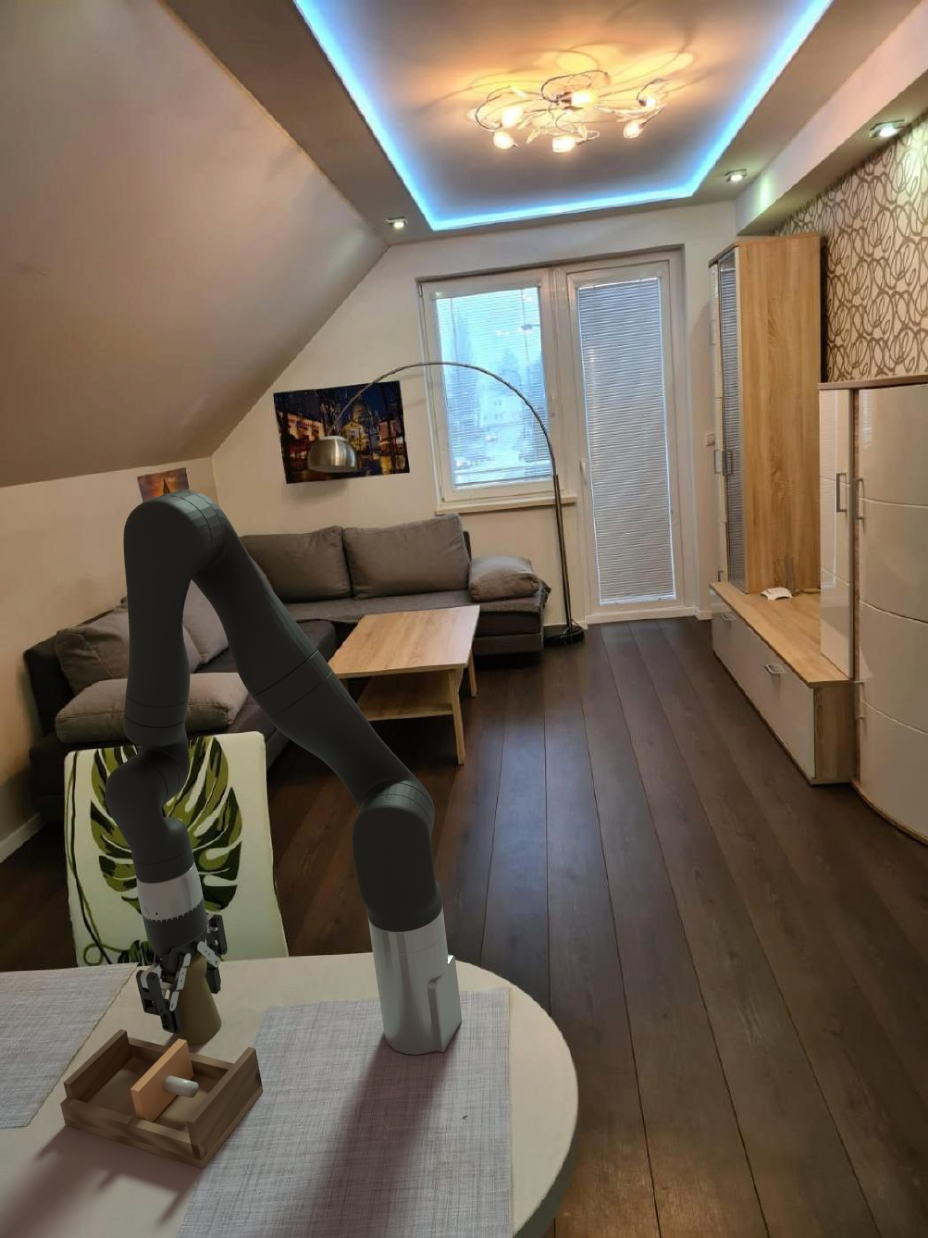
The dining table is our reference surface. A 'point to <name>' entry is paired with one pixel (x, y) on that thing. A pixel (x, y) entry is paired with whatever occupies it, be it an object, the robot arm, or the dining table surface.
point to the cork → (196, 1005)
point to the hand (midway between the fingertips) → (194, 1010)
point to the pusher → (164, 1082)
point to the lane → (185, 1122)
